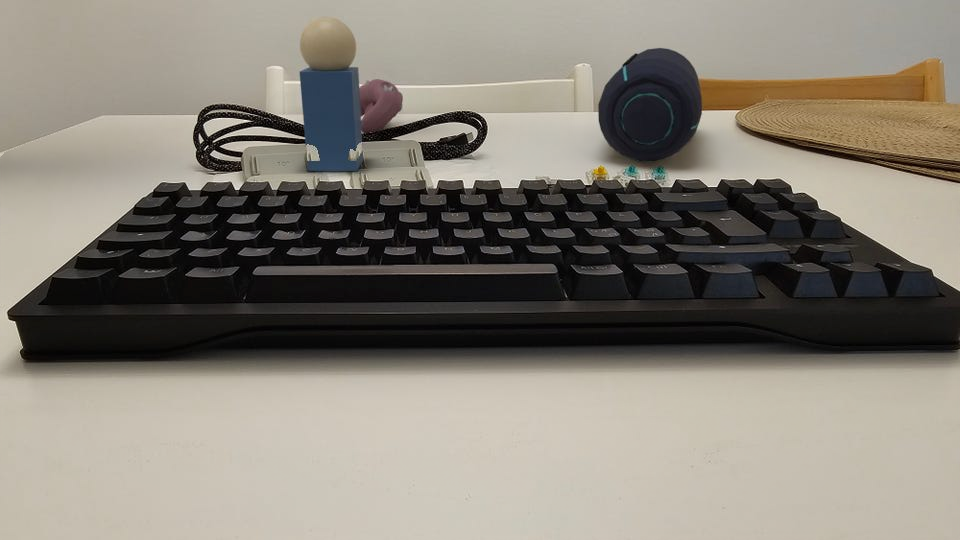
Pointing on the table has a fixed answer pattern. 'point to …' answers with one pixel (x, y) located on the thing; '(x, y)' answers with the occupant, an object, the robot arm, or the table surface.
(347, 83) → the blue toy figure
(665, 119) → the portable speaker
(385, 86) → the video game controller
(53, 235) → the table surface
